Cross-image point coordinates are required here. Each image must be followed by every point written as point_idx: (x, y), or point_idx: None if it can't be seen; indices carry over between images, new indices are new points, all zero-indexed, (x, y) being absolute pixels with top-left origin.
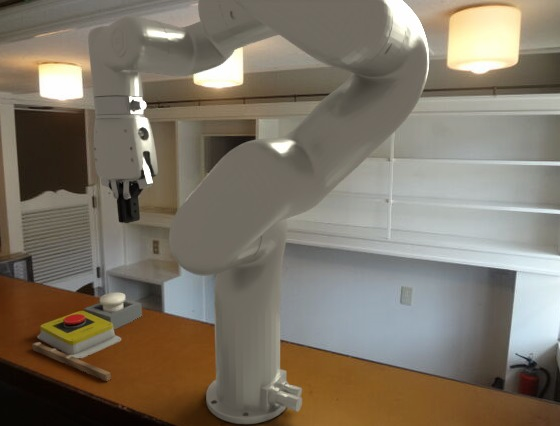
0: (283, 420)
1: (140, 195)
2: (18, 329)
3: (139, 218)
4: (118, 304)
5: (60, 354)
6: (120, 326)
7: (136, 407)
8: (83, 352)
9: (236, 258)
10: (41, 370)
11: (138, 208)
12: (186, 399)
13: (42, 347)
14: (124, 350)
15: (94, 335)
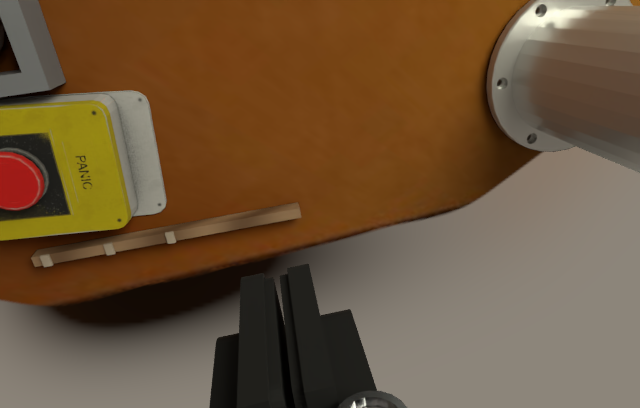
0: None
1: (401, 404)
2: None
3: (307, 266)
4: None
5: (141, 243)
6: (53, 47)
7: (408, 214)
8: (144, 191)
9: None
10: (155, 274)
11: (359, 338)
12: (464, 147)
13: (73, 258)
14: (205, 120)
15: (120, 164)
